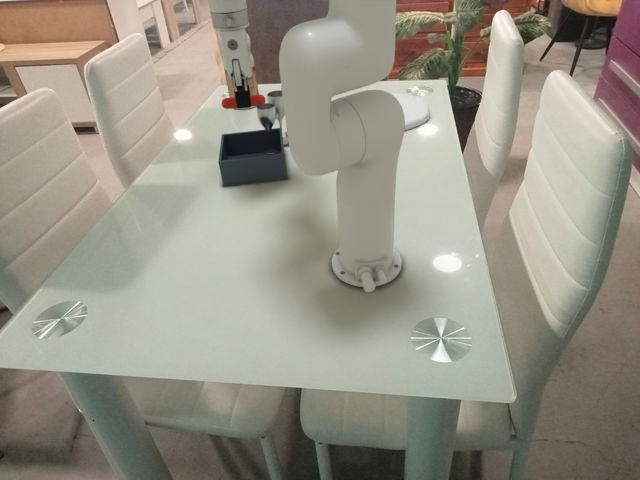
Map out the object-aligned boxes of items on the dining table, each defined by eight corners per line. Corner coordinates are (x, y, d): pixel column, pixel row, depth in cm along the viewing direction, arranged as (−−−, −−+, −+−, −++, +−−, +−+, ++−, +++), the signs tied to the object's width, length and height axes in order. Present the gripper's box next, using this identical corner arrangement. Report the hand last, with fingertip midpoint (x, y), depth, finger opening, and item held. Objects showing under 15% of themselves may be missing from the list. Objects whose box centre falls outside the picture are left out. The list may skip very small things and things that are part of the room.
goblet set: (276, 155, 122) (269, 105, 114) (257, 152, 125) (249, 103, 117) (324, 114, 142) (321, 69, 134) (307, 112, 144) (303, 67, 136)
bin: (287, 179, 114) (284, 154, 110) (223, 186, 113) (218, 162, 109) (284, 150, 126) (281, 127, 122) (226, 157, 125) (221, 134, 121)
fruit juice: (225, 107, 153) (206, 12, 136) (243, 97, 159) (228, 5, 143) (248, 111, 149) (231, 14, 132) (266, 101, 155) (252, 7, 138)
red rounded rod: (266, 102, 111) (264, 92, 109) (266, 106, 109) (264, 96, 108) (222, 107, 110) (220, 97, 109) (222, 111, 108) (220, 100, 107)
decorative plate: (338, 120, 129) (344, 87, 148) (339, 134, 131) (345, 100, 151) (433, 118, 126) (426, 85, 145) (432, 133, 128) (425, 98, 148)
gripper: (248, 26, 92) (261, 117, 103) (248, 8, 105) (260, 91, 116) (209, 30, 92) (226, 120, 103) (214, 12, 104) (229, 94, 116)
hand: (244, 104), depth 109 cm, fingers closed on red rounded rod, 2 cm apart
